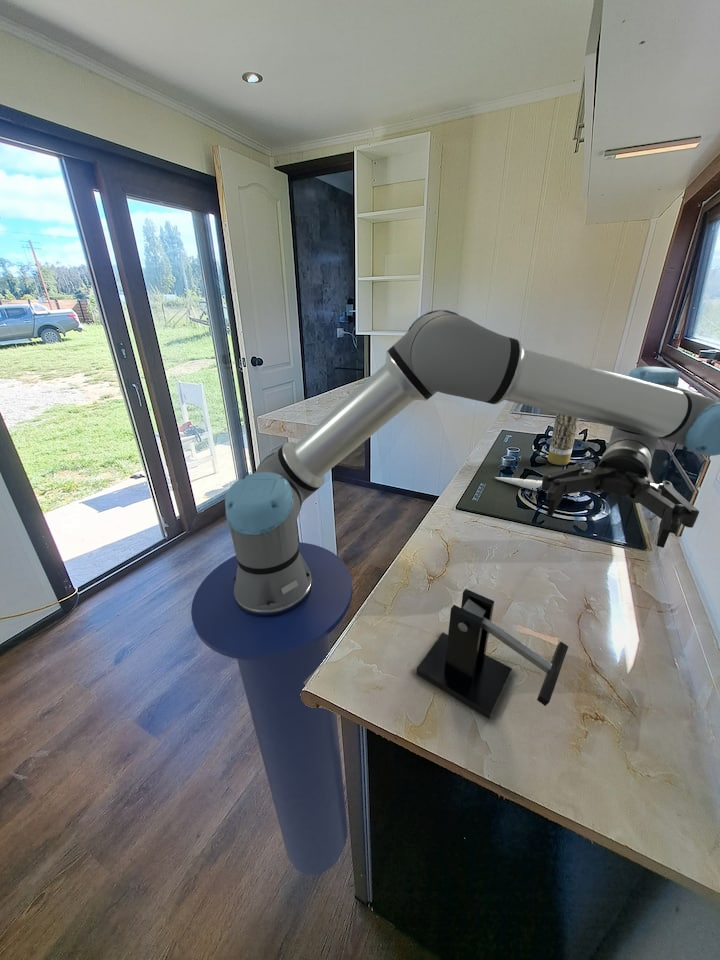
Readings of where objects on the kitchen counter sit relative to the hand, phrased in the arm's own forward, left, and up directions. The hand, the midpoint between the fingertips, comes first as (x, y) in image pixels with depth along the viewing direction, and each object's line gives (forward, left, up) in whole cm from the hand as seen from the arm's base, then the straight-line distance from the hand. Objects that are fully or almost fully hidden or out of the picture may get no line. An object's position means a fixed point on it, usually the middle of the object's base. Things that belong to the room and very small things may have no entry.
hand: (603, 522), depth 53 cm
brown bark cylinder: (-20, +79, -25) cm, 86 cm away
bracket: (-12, -15, -25) cm, 31 cm away
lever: (-7, -15, -15) cm, 22 cm away
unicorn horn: (-20, +54, -25) cm, 63 cm away
